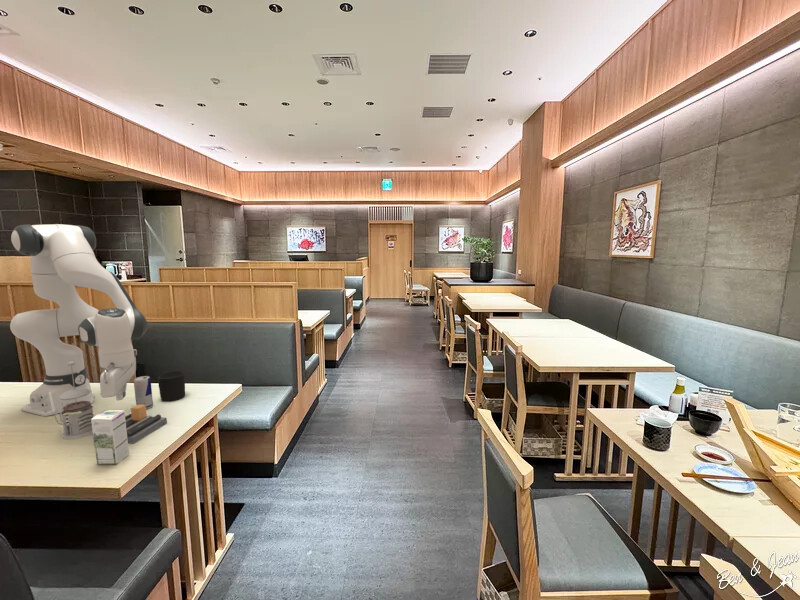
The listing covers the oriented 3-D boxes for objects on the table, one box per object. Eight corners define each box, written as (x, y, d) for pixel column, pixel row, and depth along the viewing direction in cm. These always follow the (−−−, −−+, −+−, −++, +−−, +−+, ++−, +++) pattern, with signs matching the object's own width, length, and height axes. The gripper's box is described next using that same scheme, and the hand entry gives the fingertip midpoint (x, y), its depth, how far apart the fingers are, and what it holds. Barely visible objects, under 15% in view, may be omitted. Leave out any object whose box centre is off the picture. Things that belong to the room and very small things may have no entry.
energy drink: (156, 404, 144) (153, 376, 142) (145, 410, 138) (142, 381, 137) (144, 404, 144) (141, 375, 142) (133, 410, 139) (129, 380, 137)
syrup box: (130, 453, 110) (125, 409, 108) (116, 465, 104) (110, 418, 102) (111, 453, 110) (105, 409, 108) (95, 465, 104) (89, 418, 102)
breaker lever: (132, 422, 125) (130, 408, 124) (139, 418, 127) (137, 404, 127) (139, 422, 124) (138, 408, 123) (146, 418, 127) (145, 404, 126)
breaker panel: (95, 440, 117) (93, 430, 117) (132, 420, 131) (131, 410, 130) (133, 443, 115) (132, 433, 115) (166, 422, 129) (166, 413, 129)
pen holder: (191, 393, 154) (189, 371, 153) (174, 403, 145) (172, 379, 144) (171, 392, 156) (169, 370, 154) (154, 401, 147) (151, 378, 145)
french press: (106, 425, 127) (98, 357, 123) (76, 443, 116) (66, 368, 112) (79, 424, 127) (70, 356, 124) (46, 442, 116) (35, 368, 112)
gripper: (116, 369, 108) (121, 411, 111) (138, 348, 127) (141, 385, 129) (91, 371, 106) (96, 414, 108) (116, 349, 125) (120, 387, 127)
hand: (121, 398), depth 119 cm, fingers closed
